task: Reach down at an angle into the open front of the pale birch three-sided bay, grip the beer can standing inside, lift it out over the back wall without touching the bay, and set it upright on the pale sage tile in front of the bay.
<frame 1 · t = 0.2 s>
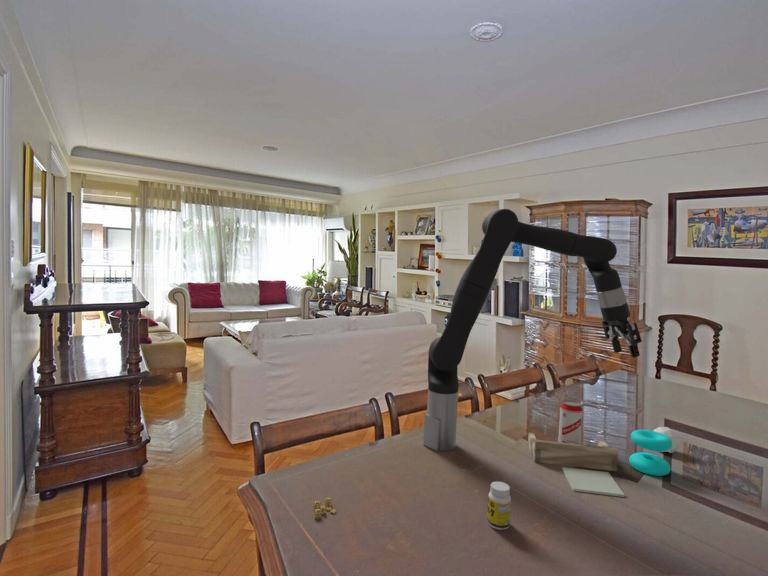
hand: (626, 354, 132), 31 cm above the table, tool tilted 20°, fingers open, 8 cm apart
sage tile: (591, 482, 113), on the table
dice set: (323, 513, 95), on the table
donuts: (649, 469, 122), on the table
birch bay: (568, 455, 129), on the table
geometric ball: (664, 452, 135), on the table
beer can: (568, 456, 129), on the table
supplement bottle: (498, 524, 93), on the table
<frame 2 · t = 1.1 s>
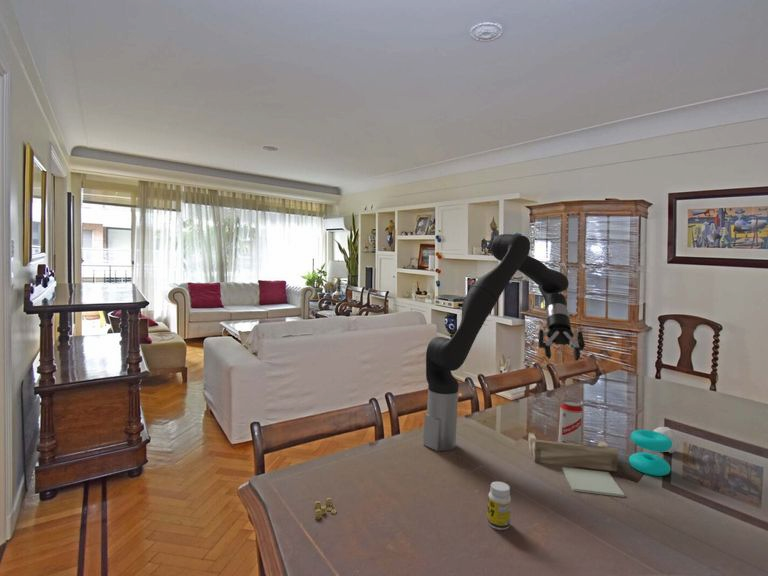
hand: (563, 358, 141), 27 cm above the table, tool tilted 45°, fingers open, 8 cm apart
nothing on the table moved.
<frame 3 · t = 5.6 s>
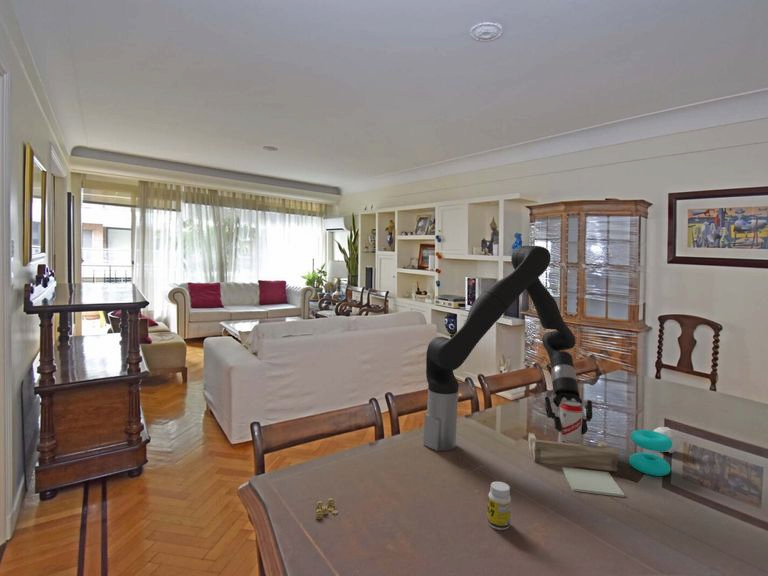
hand: (571, 431, 127), 8 cm above the table, tool tilted 45°, fingers closed on beer can, 6 cm apart
beer can: (568, 456, 129), on the table, touching gripper
everything else where it was.
when the fingers open (10 cm above the table, at t = 11.8 s): beer can drops 1 cm, resting on sage tile.
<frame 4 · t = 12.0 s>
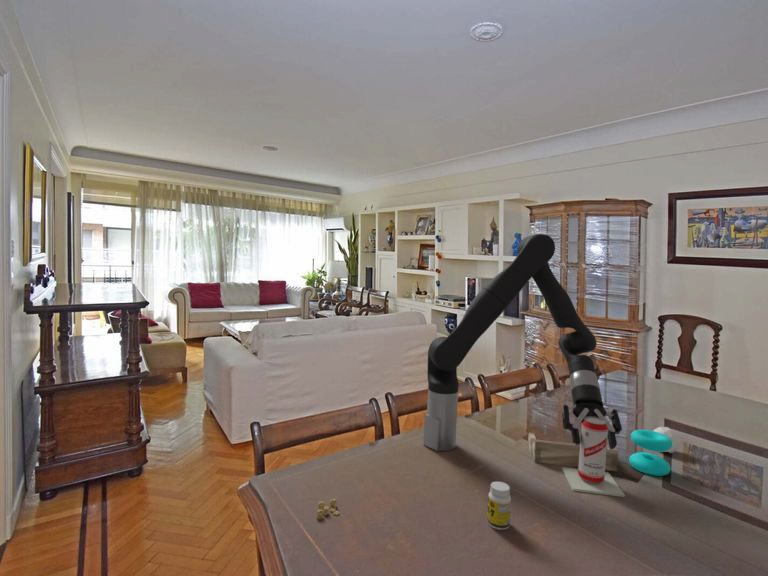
hand: (595, 446, 111), 10 cm above the table, tool tilted 45°, fingers open, 8 cm apart
beer can: (590, 479, 113), point 1 cm above the table, touching sage tile
everything else where it was.
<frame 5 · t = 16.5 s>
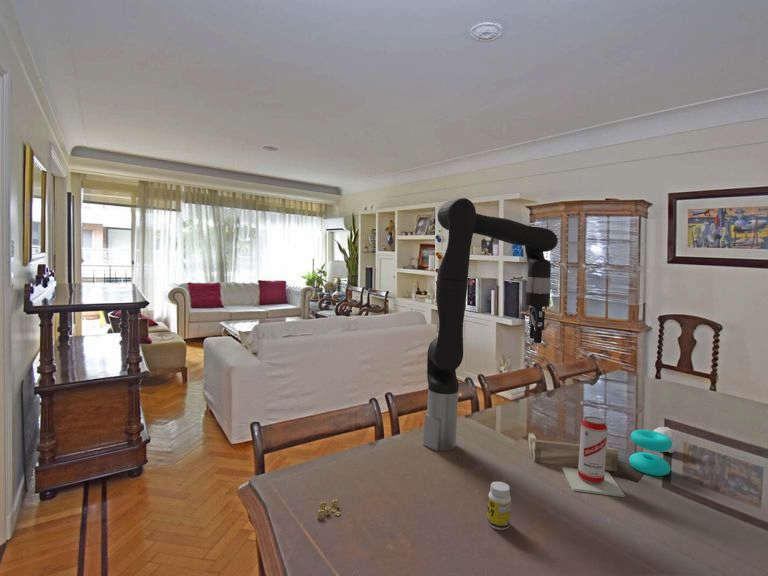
hand: (535, 340, 141), 32 cm above the table, tool pointing down, fingers open, 8 cm apart
at the end: beer can inside the target area on the sage tile (0.2 cm from its centre), point 0.4 cm above the sage tile's base; beer can tilted 0°; the gripper is holding nothing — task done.
